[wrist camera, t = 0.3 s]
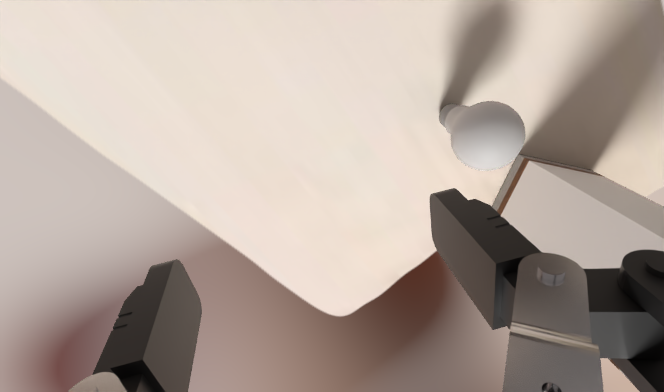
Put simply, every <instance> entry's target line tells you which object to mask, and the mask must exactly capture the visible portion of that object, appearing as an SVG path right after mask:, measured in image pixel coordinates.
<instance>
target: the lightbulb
mask: <svg viewBox="0 0 664 392" xmlns="http://www.w3.org/2000/svg"><path fill="white" fill-rule="evenodd" d="M439 120H440V123H441V124H442V125H443V126H444V127H445V128H446V130H447V131H448V133H449V134H451V146H452V149H453V151H454V153H455V155H456V156H457V158H458V159H459V160H460V161H461V162H462V163H463V164H465V165H466V166H468V167H470V168H473V169H476V170H481V171H491V170H496V169H499V168H502V167H504V166H506V165H507V164H509V163H510V162H511V161H513V160H514V159H515V158H516V157H517V155H518V154H519V153H520V151H521V149H522V147H523V144H524V140H525V127H524V123H523V121H522V119H521V117H520V116H519V114H518V113H517V112H516V111H515V110H514V109H513V108H511V107H510V106H508V105H506V104H503V103H500V102H494V101H486V102H480V103H477V104H475V105H472V106H470V107H468V106H464V105H462V106H460V105H457V104H448V105H446V106H445V107H444V108H443V109H442V110H441V112H440V115H439Z"/></svg>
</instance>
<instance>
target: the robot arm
mask: <svg viewBox="0 0 664 392" xmlns="http://www.w3.org/2000/svg"><path fill="white" fill-rule="evenodd" d="M430 213H431V228H432V237H433V241H434V244H435V247H436V249H437V251H438V252H439V254H440V255H441V257H442V258H443V260H444V261H445V262H446V264H447V265H448V267H449V268H450V270H451V271H452V272H453V274H454V275H455V277H456V278H457V279H458V281H459V282H460V284H461V285H462V287H463V288H464V290H465V291H466V292H467V294H468V295H469V297H470V298H471V300H472V301H473V302H474V304H475V305H476V307H477V308H478V310H479V311H480V312H481V314H482V315H483V317H484V318H485V319H486V321H487V322H488V324H489V325H490V327H491V328H492V329H493V330H494V329H498V328H501V327H505V326H507V327H508V328H509V329H510V335H509V343H508V351H507V359H506V367H505V375H504V384H503V392H603V382H602V372H601V361H600V358H610V359H611V360H612V361H613V362H614V363H615V364H616V365H617V367H618V368H619V369H620V370H621V371H622V372H623V373H624V374H625V376H626V377H627V378H628V379H629V380H630V381H631V382H632V383H633V385H634V386H635V387H636V388H637V389H638V390H639V391H640V392H664V251H658V250H647V249H646V250H636V251H632V252H630V253H628V254H626V255H625V256H624V258H623V260H622V263H621V267H620V268H600V269H582V267H581V266H580V265H578V264H577V263H576V262H574V261H573V260H571V259H569V258H567V257H564V256H562V255H558V254H553V253H542V252H541V251H540V250H539V249H538V248H537V247H536V246H534V245H533V244H532V243H531V242H530V241H529V240H528V239H527V238H526V237H525V236H523V235H522V234H521V233H520V232H519V231H518V230H517V229H516V228H515V227H513V226H512V225H510V224H509V222H508V221H507V220H506V219H505V218H504V217H501V215H500V214H499V213H498V212H497V211H496V210H495V209H494V208H492V207H491V206H490V205H488V204H486V203H483V202H481V201H479V200H476V199H473V200H469V201H468V200H467V199H466V198H465V197H464V196H463V195H462V194H461V193H460V192H459V191H458V190H457V189H455V188H453V189H449V190H445V191H441V192H437V193H433V194H431V195H430ZM201 314H202V309H201V302H200V298H199V296H198V294H197V291H196V289H195V287H194V286H193V284H192V282H191V280H190V278H189V276H188V274H187V272H186V270H185V268H184V266H183V264H182V263H181V262H180V261H179V260H177V259H176V260H172V261H169V262H165V263H161V264H157V265H153V266H151V267H150V269H149V272H148V274H147V277H146V279H145V282H144V284H143V285H142V286H138V287H136V289H135V290H134V291H133V292H132V293H131V294H130V296H129V297H128V298H127V299H126V300H125V301H124V304H123V306H122V308H121V311H120V313H119V315H118V316H119V318H118V319H117V320H116V322H115V324H114V327H113V331H111V334H110V336H109V338H108V340H107V343H106V345H105V347H104V349H103V352H102V354H101V356H100V359H99V361H98V363H97V365H96V368H95V370H94V372H93V375H92V376H89V377H87V378H86V379H84V380H82V381H81V382H79V383H78V384H76V385H75V386H74V387H73V388H71V389H70V390H69V391H68V392H188V388H189V382H190V376H191V371H192V365H193V359H194V354H195V348H196V343H197V336H198V331H199V326H200V320H201Z"/></svg>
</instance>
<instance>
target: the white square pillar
mask: <svg viewBox="0 0 664 392" xmlns="http://www.w3.org/2000/svg"><path fill="white" fill-rule="evenodd" d="M492 208H494V209H495V210H496V211H497V212H498V213H499V214H500V215H501V217H504V218H505V219H506V220H507V221H508V222H509V224H510V225H512V226H513V227H515V228H516V229H517V230H518V231H519V232H520V233H521V234H522V235H523V236H525V237H526V238H527V239H528V240H529V241H530V242H531V243H532V244H533V245H534V246H536V247H537V248H538V249H539V250H540V251H541V252H542V253H553V254H558V255H562V256H564V257H567V258H569V259H571V260H573V261H574V262H576V263H577V264H578V265H580V266H581V267H582V269H600V268H620V267H621V263H622V260H623V258H624V256H625V255H626V254H628V253H630V252H632V251H636V250H646V249H647V250H658V251H664V206H661V205H660V204H658V203H655V202H653V201H652V200H650V199H648V198H646V197H644V196H642V195H640V194H638V193H636V192H634V191H632V190H630V189H628V188H626V187H624V186H622V185H620V184H618V183H616V182H614V181H612V180H610V179H608V178H606V177H604V176H602V175H600V174H598V173H596V172H594V171H592V170H588V169H583V168H579V167H574V166H570V165H565V164H561V163H556V162H552V161H547V160H543V159H538V158H533V157H529V156H524V155H520V154H518V155H517V157H516V159H515V161H514V163H513V165H512V167H511V169H510V171H509V173H508V175H507V177H506V179H505V181H504V183H503V185H502V187H501V189H500V191H499V193H498V195H497V197H496V199H495V201H494V203H493V205H492ZM608 359H609V360H610V361H611V362H612V363H613V364H614V365H615V366H616V367H617V365H616V364H615V363H614V362H613V361H612V360H611V359H610V358H608ZM617 368H618V367H617ZM618 369H619V368H618ZM619 370H620V369H619ZM620 371H621V370H620ZM621 372H622V371H621ZM622 373H623V372H622ZM623 374H624V373H623ZM624 375H625V374H624Z"/></svg>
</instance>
